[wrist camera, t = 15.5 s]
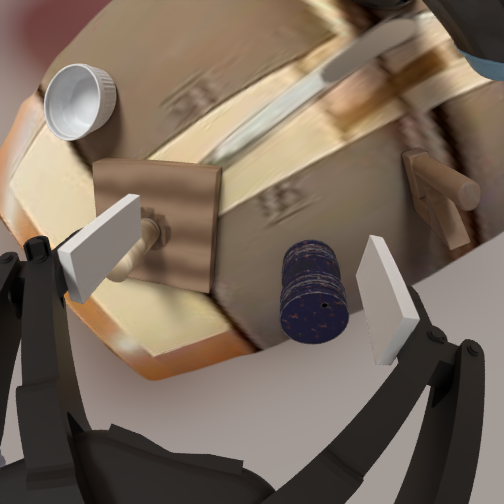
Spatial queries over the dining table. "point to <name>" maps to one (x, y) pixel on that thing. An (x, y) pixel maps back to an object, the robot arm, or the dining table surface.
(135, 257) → the beech leg
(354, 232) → the dining table surface
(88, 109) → the ramekin
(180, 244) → the walnut board
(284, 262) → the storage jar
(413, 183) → the wooden peg block
